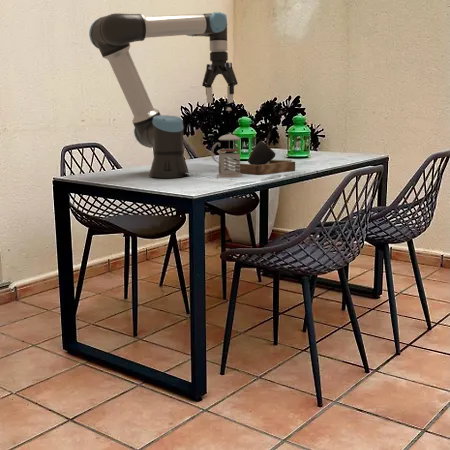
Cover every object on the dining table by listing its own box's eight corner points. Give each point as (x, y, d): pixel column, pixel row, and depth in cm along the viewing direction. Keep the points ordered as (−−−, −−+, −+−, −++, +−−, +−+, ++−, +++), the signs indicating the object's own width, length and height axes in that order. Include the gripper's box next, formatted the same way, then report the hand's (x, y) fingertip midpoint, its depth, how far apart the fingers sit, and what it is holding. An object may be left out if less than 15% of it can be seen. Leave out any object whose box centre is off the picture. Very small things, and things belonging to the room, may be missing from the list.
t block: (286, 168, 264) (286, 160, 263) (262, 167, 269) (262, 160, 268) (293, 166, 271) (293, 159, 270) (269, 165, 276) (269, 158, 275)
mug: (267, 176, 262) (282, 159, 260) (253, 168, 252) (269, 150, 250) (255, 164, 266) (270, 147, 264) (241, 155, 256) (257, 138, 254)
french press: (246, 176, 234) (245, 107, 229) (215, 177, 231) (214, 107, 226) (238, 173, 243) (237, 107, 239) (208, 175, 240) (207, 107, 235)
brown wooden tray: (258, 174, 238) (258, 165, 238) (235, 172, 247) (235, 163, 247) (295, 170, 253) (295, 161, 252) (271, 168, 262) (271, 160, 261)
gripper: (245, 49, 263) (246, 102, 267) (206, 54, 281) (208, 102, 285) (231, 49, 258) (232, 102, 262) (193, 53, 276) (194, 103, 280)
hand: (219, 102), depth 273 cm, fingers open, 13 cm apart
